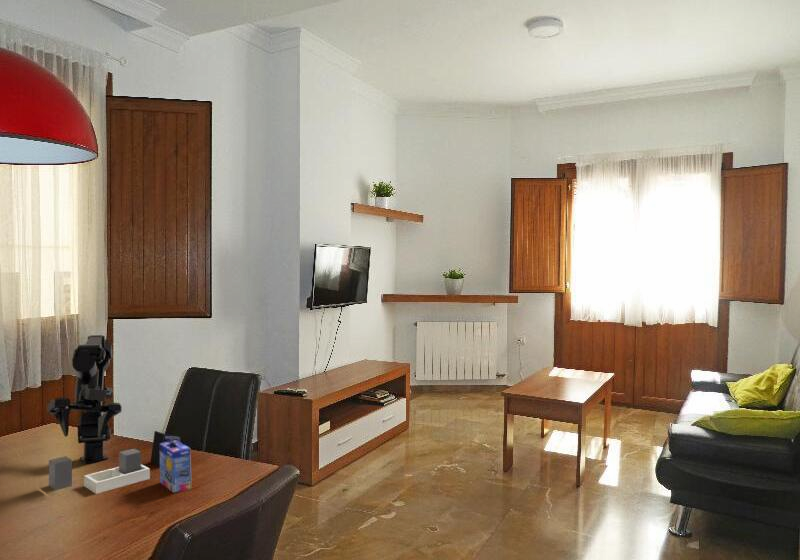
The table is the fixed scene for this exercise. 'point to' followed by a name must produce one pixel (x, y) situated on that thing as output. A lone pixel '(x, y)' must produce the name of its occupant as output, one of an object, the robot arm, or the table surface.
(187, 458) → the ink cartridge box
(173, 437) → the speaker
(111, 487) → the dock
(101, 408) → the robot arm
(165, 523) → the table surface
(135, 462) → the twin plug
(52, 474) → the grey rectangular block
